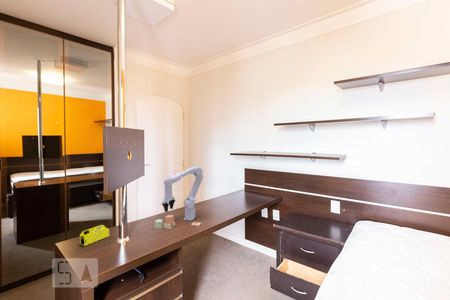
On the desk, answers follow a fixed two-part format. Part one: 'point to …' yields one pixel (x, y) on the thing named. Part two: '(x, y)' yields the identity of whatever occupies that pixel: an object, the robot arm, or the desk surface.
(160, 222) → the sage cube
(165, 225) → the maple base
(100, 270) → the desk surface
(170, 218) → the terracotta cube
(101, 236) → the yellow toy chassis
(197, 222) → the tile
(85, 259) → the desk surface
